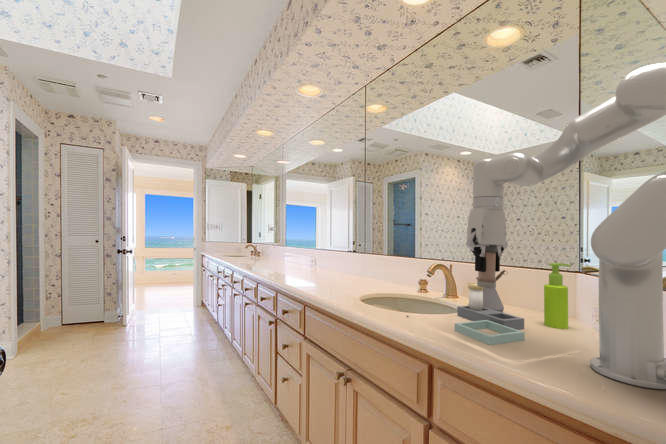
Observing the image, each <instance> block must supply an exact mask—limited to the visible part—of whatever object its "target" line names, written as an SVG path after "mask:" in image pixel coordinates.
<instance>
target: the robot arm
mask: <svg viewBox="0 0 666 444" xmlns="http://www.w3.org/2000/svg"><path fill="white" fill-rule="evenodd" d="M665 116H666V62H658V63H651V64H648V65H645V66H641V67H638V68H637V69H634V70H632V71H631V72H629V73H628V74H626V75H625V76H624V77H623V78H622V79H621V80H620V82H619V83H618V84H617V86H616V90H615V94H614V95H613V96H612V97H610V98H609V99H607V100H605V101H603V102H601V103H600V104H598V105H596V106H594V107H593V108H591V109H589V110H588V111H587V110H586V112H584V113H582V114H580V115H578V116H576V117H575V118H573V119H572V120H570V121H569V122H568V123H567V125H566V126H565V128H564V129H563V131H562V133H561V135H560V136H559V138H557V139H556V140H555V142H553V143H552V144H550V145H549V146H548V147H546V148H544V149H543V150H541V151H539V152H537V153H536V154H534V155H532V156H529V155H528V154H525V153H522V152H511V153H508V154H505V155H501V156H498V157H494V158H483V159H479V160H477V161H475V162H474V164H473V169H472V173H473V174H472V176H473V177H472V208H471V209H470V212H469V216H468V220H467V221H468V222H467V231H466V243H465V246H466V248H469V250H470V251H471V252H472V256H473V257H474V271H475V272H478V271H480V272H486V257H484V254H485V248H486V246H496V247H497V252H496V269H495V273H497V272H499V273H500V272H501V269H500V268H501V264H500V263H501V261H500V259H501V257H502V254H503V252H504V251H505V249H506V248H508V246H509V243H508V242H507V222H506V215H505V209H504V205H505V204H504V183H510V184H513V185H517V186H519V187H520V186H521V187H530V186H534V185H537V184H540V183H541V182H544V181H545V180H547V179H550V178H552V177H555V176H556V175H558V174H560V173H562V172H563V171H566V170H567V169H569V168H571V167H572V166H574V165H575V164H576V163H578V162H580V161H581V160H583V159H584V158H586V157H587V156H588V155H589V154H592V153H593V152H594V151H597V150H598V149H600V148H602V147H605V146H606V145H609V144H611V143H614V142H615V141H617V140H618V139H621V138H623V137H625V136H627V135H628V134H631V133H632V132H633V133H634V132H635V131H637V130H639V129H641V128H643V127H646V126H647V125H650V124H651V123H654V122H655V121H657V120H660V119H661V118H663V117H665ZM590 247H591V250H592V252H593V254H594V255H595V256H596V257H597V258H598V259H599V261H598V263H599V264H598V334H599V335H598V336H599V337H598V338H599V339H598V340H599V341H598V343H599V344H598V345H599V346H598V347H599V348H598V349H599V356H597V357H596V356H595V357H593V358H591V359H590V361H589V363H590V367H591V368H592V369H593V370H594V372H597V373H598V374H601V375H603V376H604V377H607V378H610V379H612V380H616V381H619V382H622V383H625V384H628V385H632V386H635V387H642V388H647V389H655V390H666V358H665V347H664V346H665V343H664V340H665V339H664V338H665V337H664V288H663V287H664V285H663V283H664V281H663V280H664V279H663V278H664V277H663V266H664V265H663V264H664V263H663V261H664V260H663V259H664V258H663V255H664V251H665V250H666V171H664V172H663V171H662V172H660V173H657V174H655V175H654V176H652V177H651V178H649V179H648V180H647V181H645V182H643V183H642V185H640V186H638V188H637V189H636V190H635V191H633V193H631V195H630V196H629V197H627V198H626V199H625V200H624V201H623V202H621V203H620V204H619V206H617V207H616V208H615V209H614V210H613V211H612V212H611V213H610V214H609V215H608V216H606V218H605V219H603V220H602V221H601V222H600V223H599V224H598V225H597V227H595V229H594V230H593V232H592V234H591V237H590ZM479 248H480V249H479Z"/></svg>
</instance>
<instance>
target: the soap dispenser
mask: <svg viewBox="0 0 666 444" xmlns="http://www.w3.org/2000/svg"><path fill="white" fill-rule="evenodd" d="M548 266H551V270H552V271H551V272H550V273H549V274H548V283H546V284H544V285H543V298H544V299H543V306H544V309H543V311H544V312H543V315H544V316H543V319H544V323H543V325H544V326H545V327H548V328H552V329H557V330H558V329H559V330H567V329H569V289H568V286H565V285H564V282H563V274H561V273H560V267H561V266H562V267H563V266H564V267H570V268H571V267H572V265H571V264H567V263H561V262H560V263H559V262H550V263H549V262H548Z"/></svg>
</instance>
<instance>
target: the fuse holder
mask: <svg viewBox="0 0 666 444" xmlns="http://www.w3.org/2000/svg"><path fill="white" fill-rule="evenodd" d="M456 310H457V312H456V314H457V316H458V317H459V318H460V317H461V318H463V319H465V320H469V321H470V322H472V321H482V320H488V321H492V322H495V323H498V324H501V325H504V326H507V327H510V328H513V329H516V330H519V331H522V330H525V318H523V317H519V316H516V315H513V314H510V313H505V312H499V311H495V310H492V309H488V308H485V307H483V310H482V311H474V310H471V309H469V306H468V305H459V306H457V308H456Z"/></svg>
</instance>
